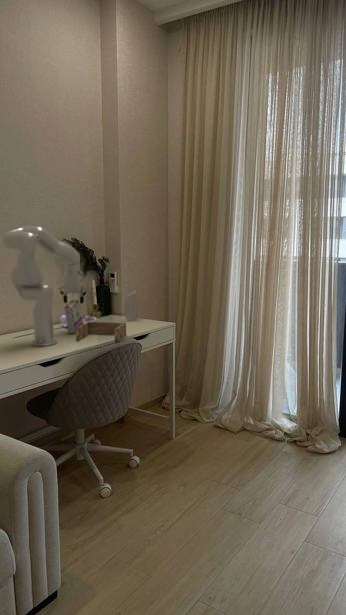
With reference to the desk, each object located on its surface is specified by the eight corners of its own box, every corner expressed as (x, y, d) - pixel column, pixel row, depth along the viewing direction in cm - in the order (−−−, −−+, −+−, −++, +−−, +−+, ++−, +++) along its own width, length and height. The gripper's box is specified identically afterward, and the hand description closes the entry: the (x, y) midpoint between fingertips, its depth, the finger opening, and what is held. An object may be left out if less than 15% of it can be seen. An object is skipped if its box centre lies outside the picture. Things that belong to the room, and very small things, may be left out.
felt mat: (78, 334, 258) (78, 334, 258) (65, 334, 259) (65, 333, 259) (85, 330, 270) (85, 329, 270) (72, 329, 271) (72, 329, 271)
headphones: (54, 326, 276) (84, 334, 268) (55, 314, 275) (84, 321, 266) (77, 320, 296) (105, 327, 287) (78, 309, 295) (106, 315, 286)
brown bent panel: (117, 342, 238) (116, 329, 237) (76, 341, 242) (75, 328, 241) (126, 334, 256) (125, 322, 255) (88, 333, 260) (87, 321, 259)
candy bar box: (75, 325, 270) (71, 299, 264) (83, 325, 269) (79, 299, 263) (68, 333, 260) (63, 307, 254) (76, 333, 259) (72, 307, 253)
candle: (117, 319, 305) (116, 289, 302) (137, 319, 303) (137, 289, 300) (114, 321, 298) (114, 291, 294) (135, 321, 296) (135, 291, 293)
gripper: (89, 273, 261) (90, 302, 263) (61, 272, 264) (61, 302, 266) (85, 273, 254) (85, 304, 256) (56, 273, 257) (56, 303, 259)
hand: (73, 303), depth 261 cm, fingers open, 9 cm apart
